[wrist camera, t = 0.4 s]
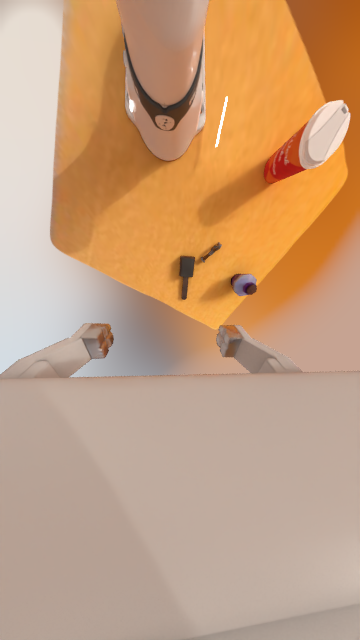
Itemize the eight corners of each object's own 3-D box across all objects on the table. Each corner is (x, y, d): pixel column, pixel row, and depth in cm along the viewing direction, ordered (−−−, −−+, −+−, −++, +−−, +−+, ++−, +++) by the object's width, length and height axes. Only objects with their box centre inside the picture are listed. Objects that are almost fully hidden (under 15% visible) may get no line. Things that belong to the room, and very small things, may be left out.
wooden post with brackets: (223, 243, 45) (223, 248, 43) (205, 257, 51) (203, 263, 48) (220, 238, 45) (219, 243, 42) (202, 254, 50) (200, 259, 47)
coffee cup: (276, 137, 34) (340, 77, 21) (295, 160, 36) (362, 120, 24) (253, 177, 38) (295, 146, 25) (272, 195, 40) (318, 176, 27)
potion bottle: (241, 292, 57) (256, 303, 47) (223, 287, 55) (235, 299, 45) (251, 272, 53) (270, 281, 43) (232, 267, 51) (248, 274, 41)
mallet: (180, 255, 48) (181, 256, 45) (194, 256, 48) (195, 257, 45) (177, 298, 57) (178, 301, 54) (189, 298, 57) (190, 301, 54)
